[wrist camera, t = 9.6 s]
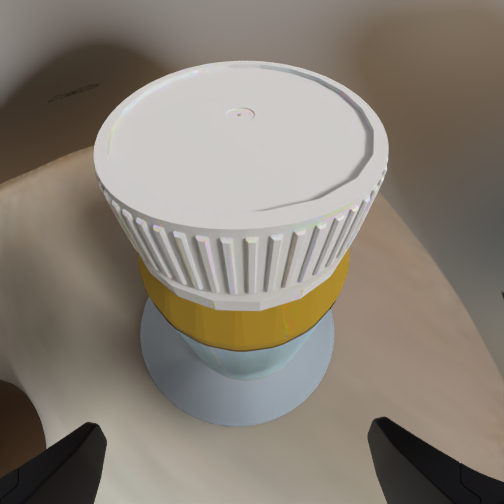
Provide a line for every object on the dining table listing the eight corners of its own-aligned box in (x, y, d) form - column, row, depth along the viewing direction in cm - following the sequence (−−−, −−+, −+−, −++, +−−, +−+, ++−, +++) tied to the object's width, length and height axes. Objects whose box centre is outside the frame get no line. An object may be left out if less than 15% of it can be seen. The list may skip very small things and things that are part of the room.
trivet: (155, 432, 15) (149, 433, 14) (144, 263, 22) (139, 255, 21) (348, 402, 16) (354, 401, 15) (304, 240, 23) (306, 231, 22)
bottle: (305, 288, 20) (378, 76, 7) (292, 389, 16) (445, 296, 3) (206, 272, 20) (157, 57, 7) (181, 369, 17) (13, 226, 4)
